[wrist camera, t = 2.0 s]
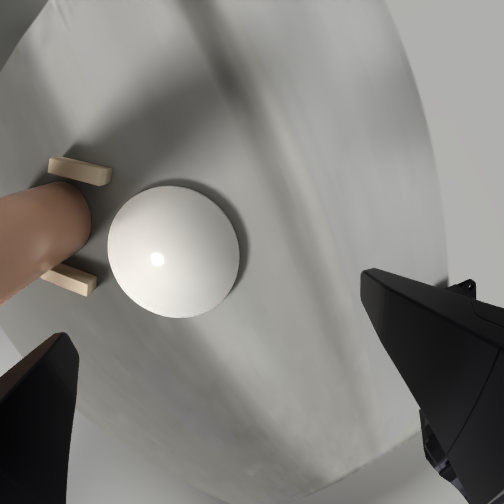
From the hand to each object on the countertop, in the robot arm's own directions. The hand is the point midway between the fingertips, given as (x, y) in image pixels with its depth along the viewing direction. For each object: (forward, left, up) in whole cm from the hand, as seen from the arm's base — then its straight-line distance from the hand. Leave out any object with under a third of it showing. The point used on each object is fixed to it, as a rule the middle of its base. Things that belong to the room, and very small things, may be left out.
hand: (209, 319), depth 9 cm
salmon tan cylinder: (+5, +12, -12) cm, 18 cm away
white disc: (-1, +5, -12) cm, 13 cm away
